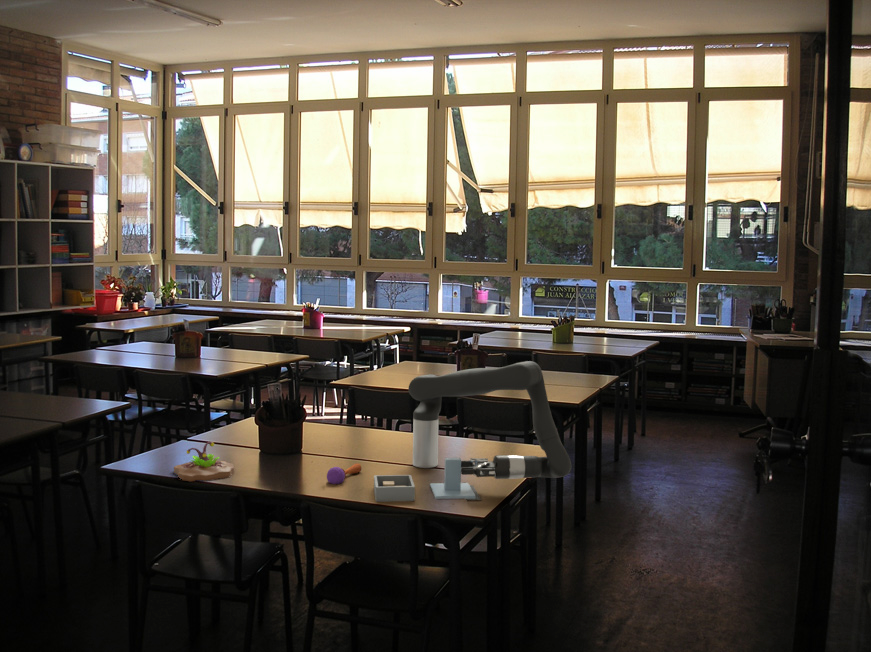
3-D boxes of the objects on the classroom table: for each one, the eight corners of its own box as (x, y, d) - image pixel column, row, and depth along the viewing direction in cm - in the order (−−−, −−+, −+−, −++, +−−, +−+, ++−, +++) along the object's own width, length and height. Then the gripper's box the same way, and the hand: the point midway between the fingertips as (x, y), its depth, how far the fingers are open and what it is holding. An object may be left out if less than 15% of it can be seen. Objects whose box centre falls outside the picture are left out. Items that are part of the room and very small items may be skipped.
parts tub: (373, 490, 259) (374, 475, 259) (410, 489, 261) (411, 474, 260) (375, 503, 246) (375, 487, 245) (414, 502, 247) (414, 486, 247)
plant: (240, 478, 273) (240, 445, 272) (181, 484, 264) (180, 451, 263) (227, 464, 291) (226, 434, 290) (171, 470, 282) (170, 438, 281)
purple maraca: (366, 462, 281) (341, 471, 262) (363, 478, 281) (337, 488, 263) (351, 457, 283) (325, 466, 264) (347, 473, 283) (321, 483, 264)
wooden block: (382, 490, 258) (382, 481, 257) (393, 490, 258) (393, 481, 258) (383, 493, 254) (383, 484, 254) (394, 493, 254) (394, 484, 254)
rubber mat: (431, 487, 265) (431, 485, 265) (472, 486, 266) (472, 485, 266) (436, 501, 249) (436, 500, 249) (481, 500, 250) (481, 499, 250)
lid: (430, 486, 264) (430, 453, 263) (467, 485, 265) (468, 453, 265) (435, 499, 249) (436, 464, 249) (475, 498, 251) (476, 464, 250)
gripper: (504, 450, 266) (456, 450, 264) (513, 461, 252) (462, 461, 250) (504, 472, 266) (455, 473, 264) (513, 484, 252) (462, 485, 250)
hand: (459, 467), depth 257 cm, fingers open, 8 cm apart
